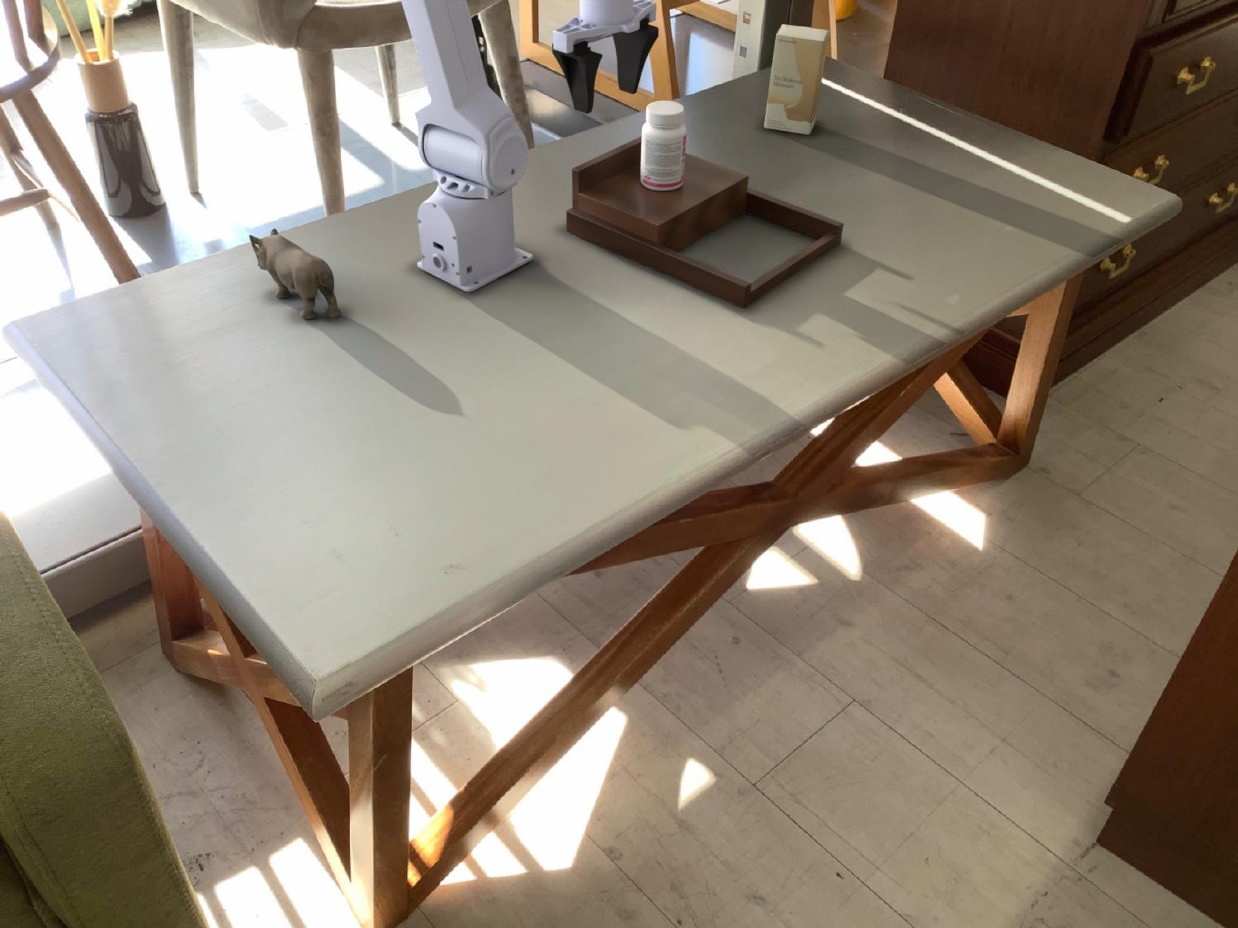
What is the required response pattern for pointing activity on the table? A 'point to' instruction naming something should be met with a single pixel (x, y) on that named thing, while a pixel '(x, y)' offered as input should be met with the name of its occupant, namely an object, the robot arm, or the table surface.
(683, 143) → the pill bottle
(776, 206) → the step rack
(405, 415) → the table surface
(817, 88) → the cosmetic box
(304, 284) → the rhino figurine
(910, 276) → the table surface
